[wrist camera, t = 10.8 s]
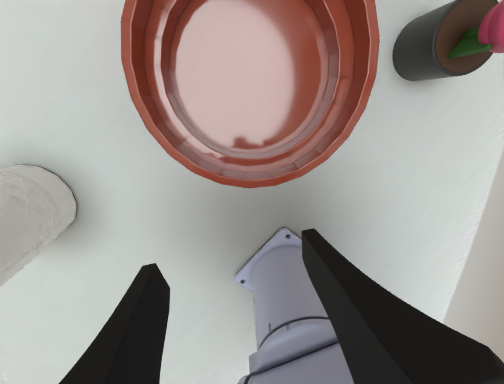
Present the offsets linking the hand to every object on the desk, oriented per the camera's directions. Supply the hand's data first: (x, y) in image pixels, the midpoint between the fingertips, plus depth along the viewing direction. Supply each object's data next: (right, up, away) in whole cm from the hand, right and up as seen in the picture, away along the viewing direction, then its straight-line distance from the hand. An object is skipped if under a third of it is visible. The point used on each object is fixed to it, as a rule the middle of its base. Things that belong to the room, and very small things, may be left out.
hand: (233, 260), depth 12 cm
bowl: (+1, +12, +7) cm, 14 cm away
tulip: (+14, +14, +7) cm, 21 cm away
